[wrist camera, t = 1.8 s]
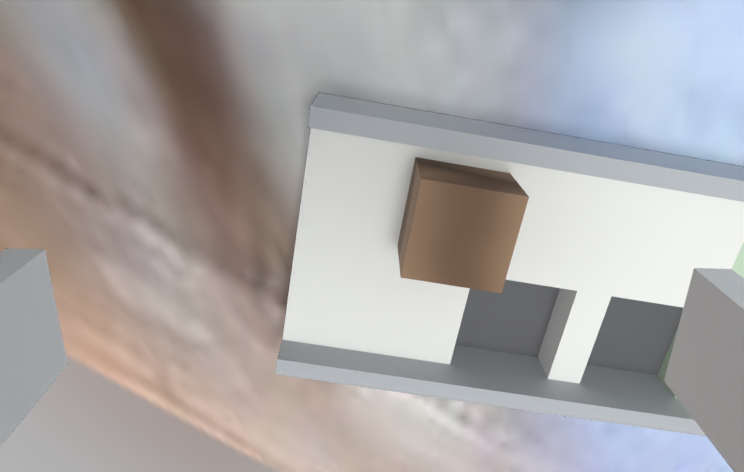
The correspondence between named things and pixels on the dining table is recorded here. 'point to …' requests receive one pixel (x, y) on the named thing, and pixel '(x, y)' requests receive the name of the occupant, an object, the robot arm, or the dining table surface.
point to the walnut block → (460, 225)
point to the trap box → (525, 274)
